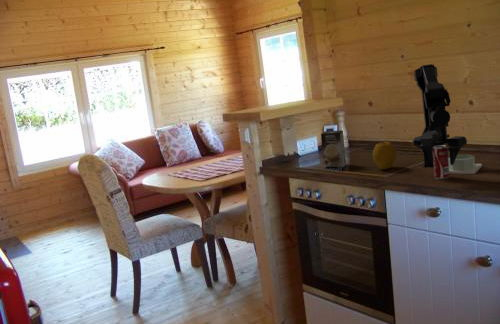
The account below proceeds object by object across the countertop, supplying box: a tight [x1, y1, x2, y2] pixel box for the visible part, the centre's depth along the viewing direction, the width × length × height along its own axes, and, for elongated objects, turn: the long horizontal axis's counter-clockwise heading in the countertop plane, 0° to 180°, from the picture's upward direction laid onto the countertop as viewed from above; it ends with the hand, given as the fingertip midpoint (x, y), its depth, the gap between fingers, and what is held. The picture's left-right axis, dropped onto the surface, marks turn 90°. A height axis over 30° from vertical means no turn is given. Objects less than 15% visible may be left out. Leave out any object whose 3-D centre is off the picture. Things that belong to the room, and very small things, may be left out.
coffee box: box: [320, 130, 347, 168], centre depth 237 cm, size 9×6×16 cm
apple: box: [372, 141, 397, 170], centre depth 218 cm, size 10×10×12 cm
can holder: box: [448, 154, 483, 175], centre depth 199 cm, size 12×12×5 cm
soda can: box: [432, 144, 450, 180], centre depth 191 cm, size 5×5×12 cm
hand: (440, 163), depth 191 cm, fingers open, 9 cm apart
